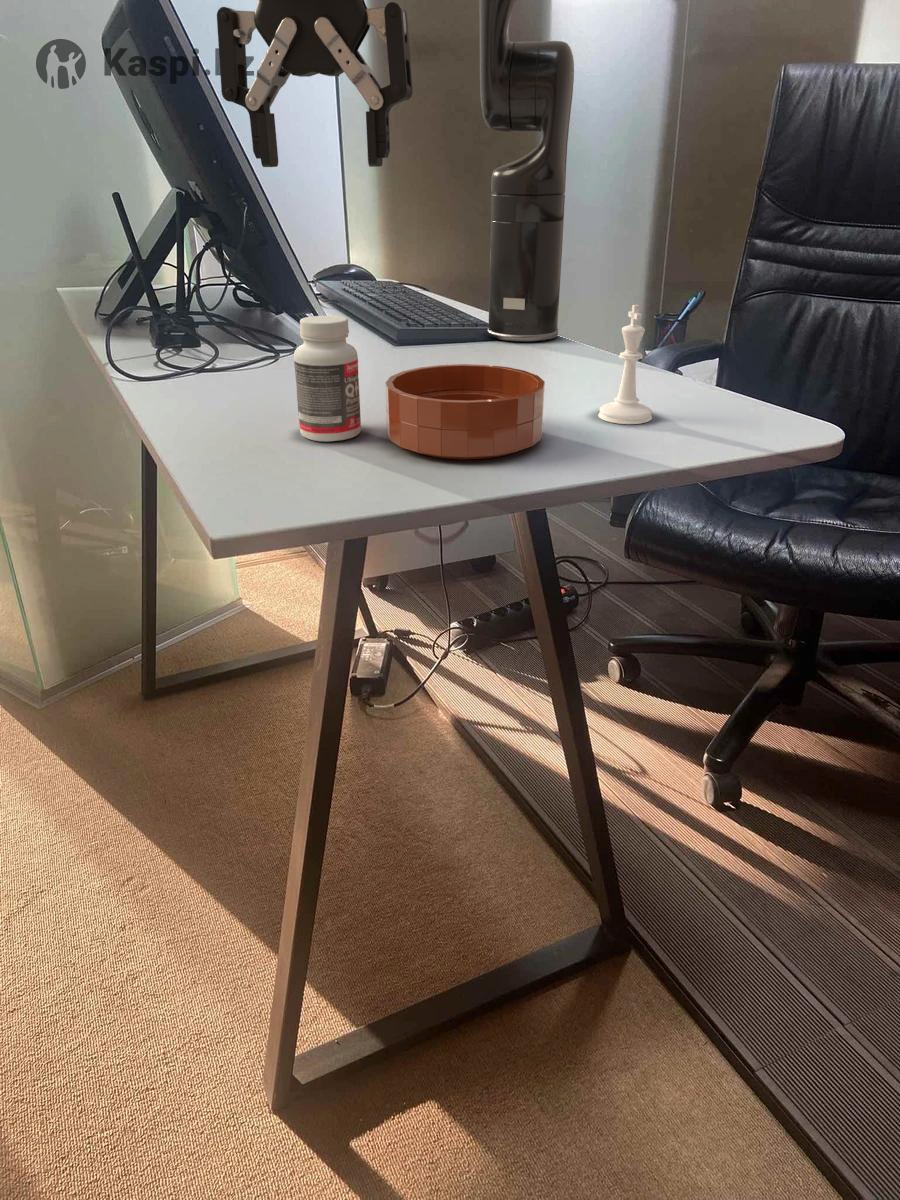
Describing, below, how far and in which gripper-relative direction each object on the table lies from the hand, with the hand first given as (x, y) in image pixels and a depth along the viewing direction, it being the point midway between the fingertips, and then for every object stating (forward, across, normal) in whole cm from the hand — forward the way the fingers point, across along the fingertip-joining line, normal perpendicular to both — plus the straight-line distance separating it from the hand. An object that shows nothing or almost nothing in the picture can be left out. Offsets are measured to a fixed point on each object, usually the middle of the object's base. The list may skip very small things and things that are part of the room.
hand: (322, 166), depth 67 cm
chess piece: (+21, -26, -7) cm, 34 cm away
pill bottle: (+21, 0, +2) cm, 21 cm away
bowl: (+21, -12, +2) cm, 24 cm away
